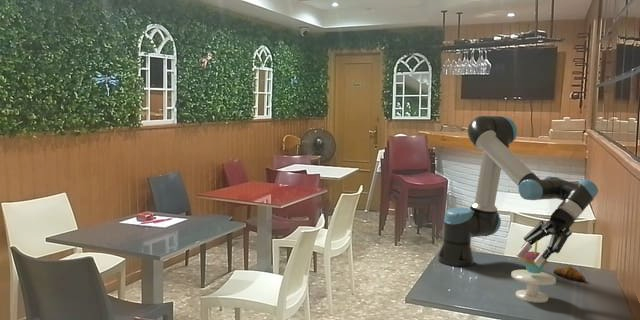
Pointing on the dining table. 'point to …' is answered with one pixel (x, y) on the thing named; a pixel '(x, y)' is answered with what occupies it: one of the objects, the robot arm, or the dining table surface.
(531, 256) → the cupcake
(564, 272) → the croissant
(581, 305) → the dining table surface
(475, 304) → the dining table surface
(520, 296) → the cake stand
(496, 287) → the dining table surface
